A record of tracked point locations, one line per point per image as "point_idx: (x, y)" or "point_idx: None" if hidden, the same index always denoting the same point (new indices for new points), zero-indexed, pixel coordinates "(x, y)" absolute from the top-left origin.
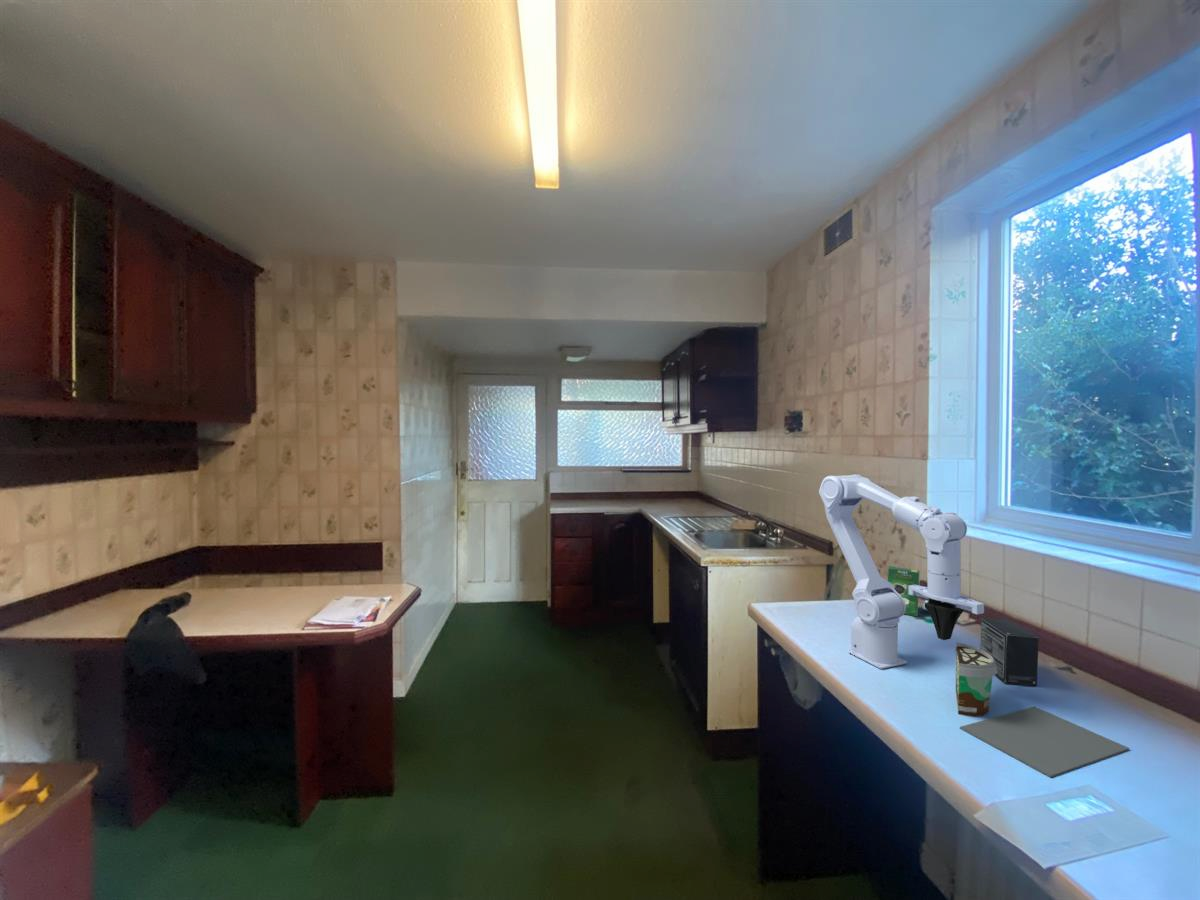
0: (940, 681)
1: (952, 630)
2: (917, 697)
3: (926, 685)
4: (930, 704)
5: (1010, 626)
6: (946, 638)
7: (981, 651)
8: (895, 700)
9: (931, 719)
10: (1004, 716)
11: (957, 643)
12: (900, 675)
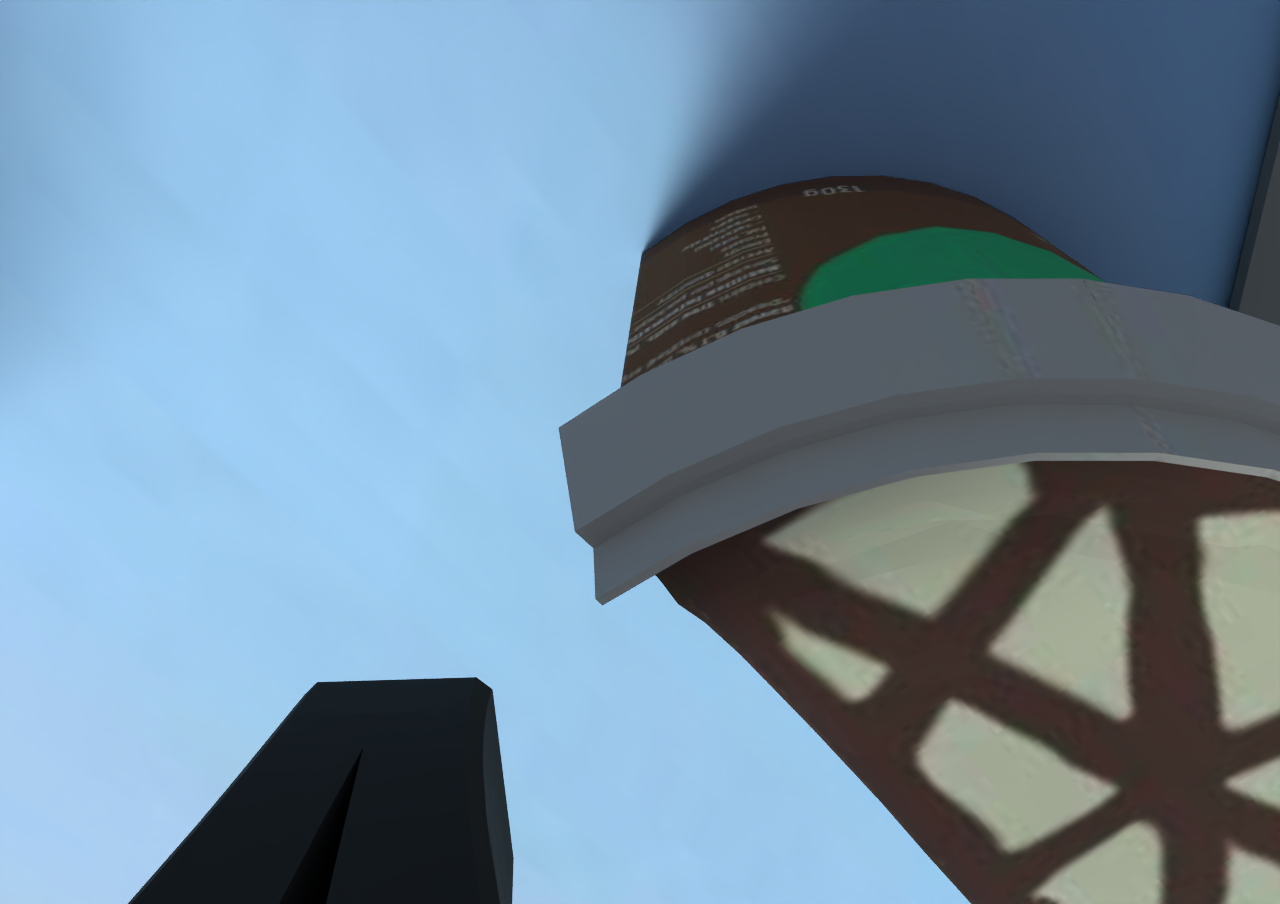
0: (340, 158)
1: (489, 848)
2: (583, 704)
3: (391, 420)
4: (731, 702)
5: None
6: (502, 834)
7: (1175, 445)
8: (562, 891)
9: (910, 869)
10: (1271, 294)
11: (632, 583)
12: (91, 489)
